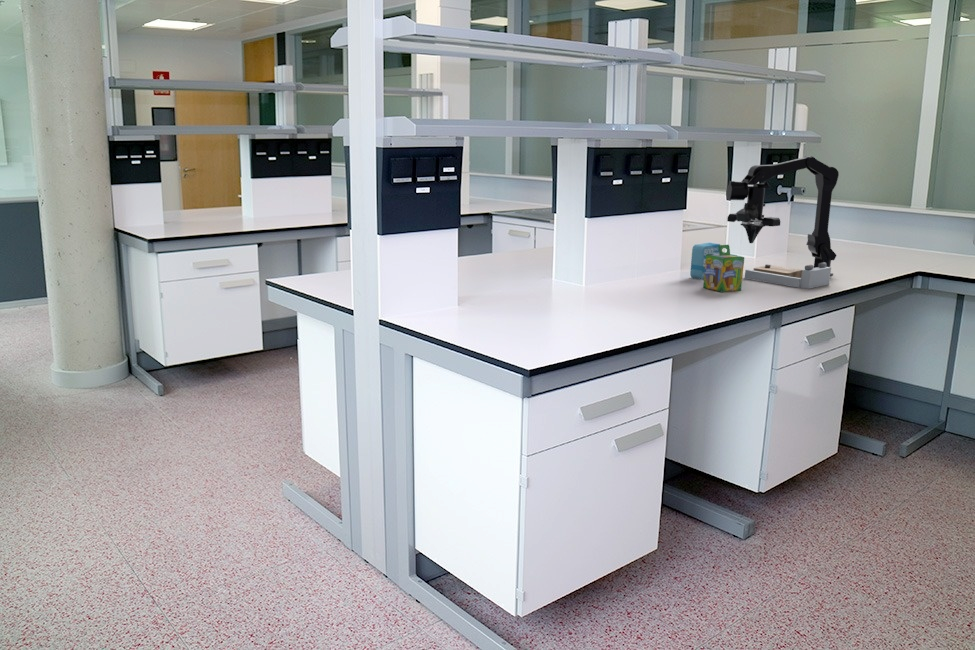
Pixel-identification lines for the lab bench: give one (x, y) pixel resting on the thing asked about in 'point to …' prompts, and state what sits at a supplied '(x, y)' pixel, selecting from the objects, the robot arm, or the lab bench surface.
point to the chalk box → (723, 271)
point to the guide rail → (773, 278)
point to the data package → (701, 258)
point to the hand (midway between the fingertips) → (751, 243)
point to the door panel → (780, 271)
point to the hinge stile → (815, 276)
